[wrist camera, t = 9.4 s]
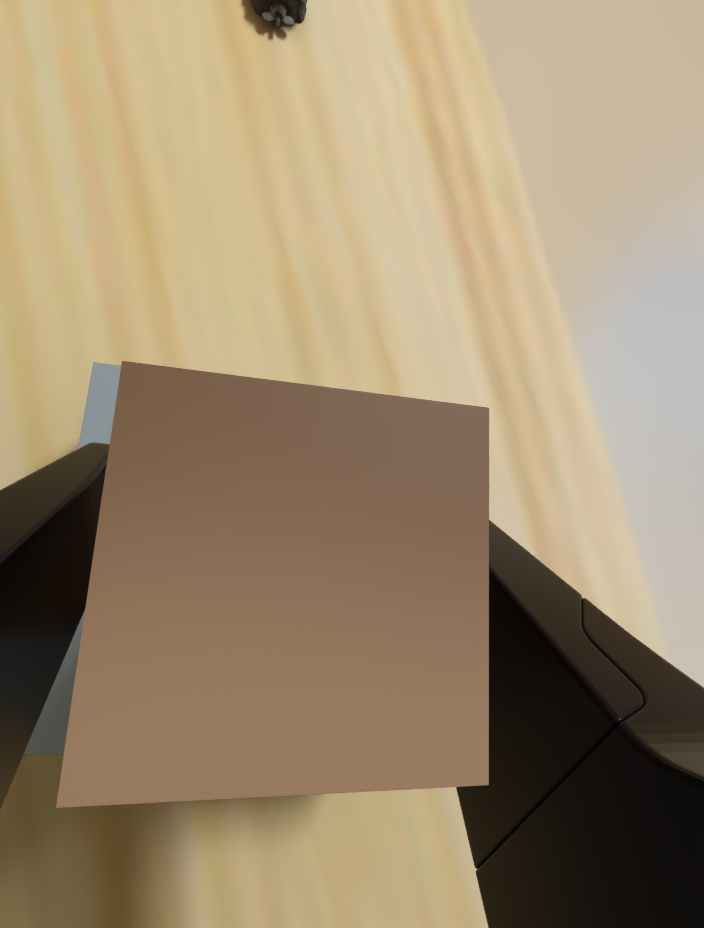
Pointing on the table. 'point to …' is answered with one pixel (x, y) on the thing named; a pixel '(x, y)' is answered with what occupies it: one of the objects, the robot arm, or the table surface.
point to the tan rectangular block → (282, 595)
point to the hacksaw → (281, 10)
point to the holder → (58, 704)
